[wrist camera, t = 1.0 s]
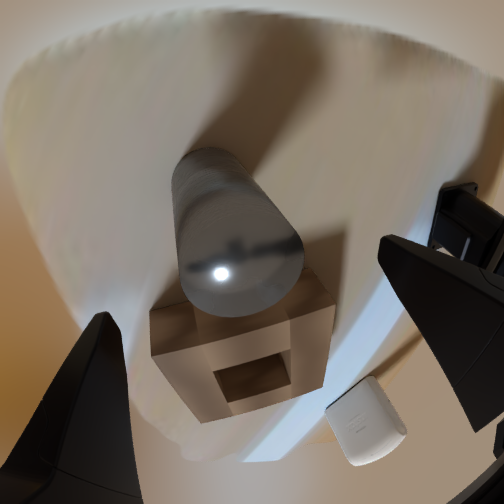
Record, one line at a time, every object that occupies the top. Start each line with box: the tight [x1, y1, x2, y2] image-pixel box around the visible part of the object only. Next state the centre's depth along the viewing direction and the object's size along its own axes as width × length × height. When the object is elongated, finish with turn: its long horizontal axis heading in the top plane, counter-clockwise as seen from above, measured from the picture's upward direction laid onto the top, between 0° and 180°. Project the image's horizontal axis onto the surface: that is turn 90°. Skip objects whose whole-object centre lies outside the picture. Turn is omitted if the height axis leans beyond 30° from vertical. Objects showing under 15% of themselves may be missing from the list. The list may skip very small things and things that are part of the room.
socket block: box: [149, 268, 336, 423], centre depth 22 cm, size 12×12×4 cm
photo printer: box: [325, 376, 407, 466], centre depth 34 cm, size 10×4×12 cm, turn 144°
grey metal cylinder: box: [171, 147, 304, 317], centre depth 12 cm, size 4×4×8 cm
